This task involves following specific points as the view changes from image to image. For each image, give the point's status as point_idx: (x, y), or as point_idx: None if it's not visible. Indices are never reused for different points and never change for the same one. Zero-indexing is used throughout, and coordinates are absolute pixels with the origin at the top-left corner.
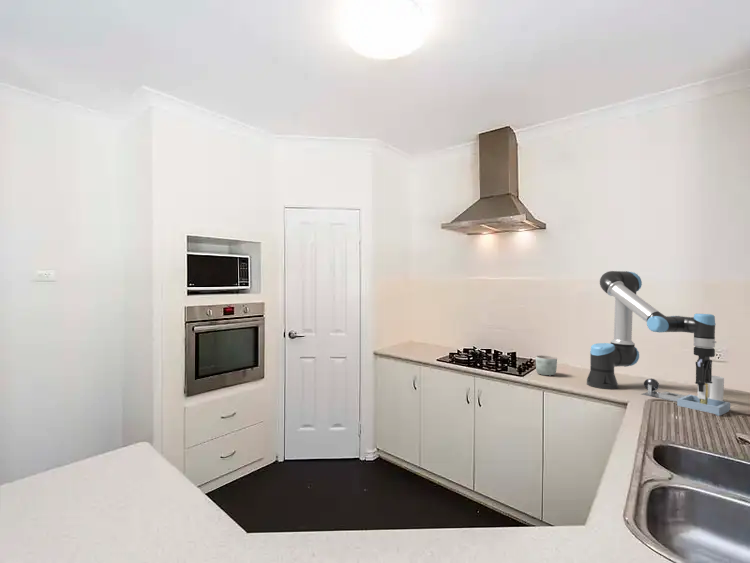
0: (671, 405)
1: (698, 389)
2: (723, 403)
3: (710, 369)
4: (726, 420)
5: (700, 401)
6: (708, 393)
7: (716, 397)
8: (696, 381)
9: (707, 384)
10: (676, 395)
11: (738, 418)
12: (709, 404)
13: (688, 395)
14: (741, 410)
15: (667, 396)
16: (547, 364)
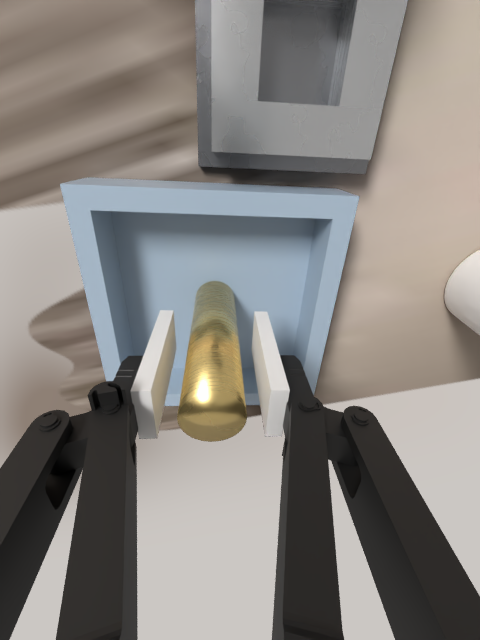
0: (80, 132)
1: (146, 357)
2: (249, 393)
3: (396, 630)
4: (78, 405)
5: (196, 305)
6: (255, 365)
7: (465, 314)
8: (29, 433)
9: (207, 437)
10: (340, 84)
11: (171, 418)
12: (302, 307)
13: (306, 203)
14: (346, 395)
15: (212, 28)
16: None
